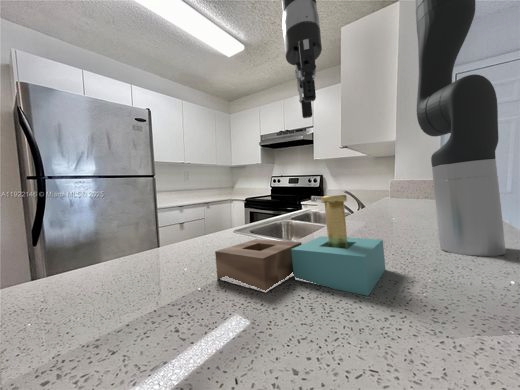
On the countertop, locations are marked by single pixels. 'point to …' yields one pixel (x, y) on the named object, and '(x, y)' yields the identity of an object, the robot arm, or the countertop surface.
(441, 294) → the countertop surface
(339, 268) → the socket block
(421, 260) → the countertop surface
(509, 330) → the countertop surface
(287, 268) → the block
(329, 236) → the brass pin
